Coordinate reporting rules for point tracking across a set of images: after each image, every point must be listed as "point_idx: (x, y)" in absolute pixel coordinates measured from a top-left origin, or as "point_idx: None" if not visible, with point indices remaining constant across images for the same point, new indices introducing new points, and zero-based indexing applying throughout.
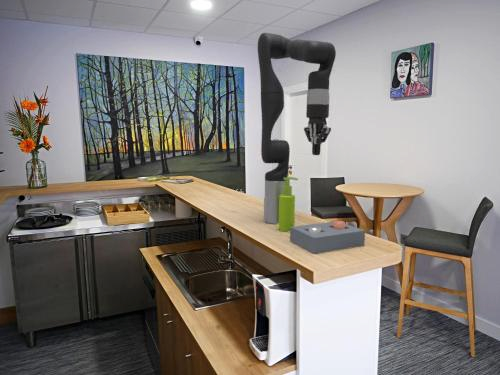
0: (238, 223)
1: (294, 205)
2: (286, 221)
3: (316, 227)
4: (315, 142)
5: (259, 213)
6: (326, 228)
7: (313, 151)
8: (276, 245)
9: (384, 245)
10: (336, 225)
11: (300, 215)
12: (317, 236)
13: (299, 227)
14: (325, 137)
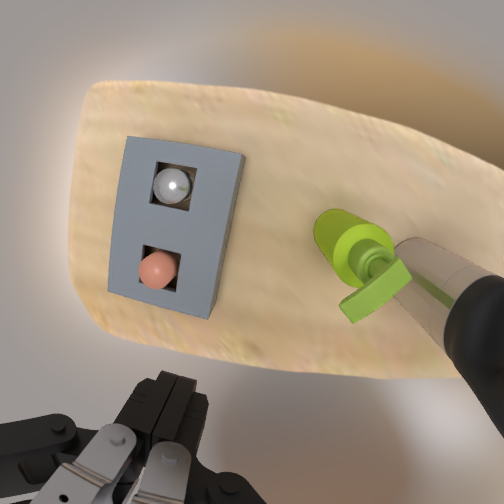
0: (456, 173)
1: (329, 262)
2: (325, 219)
3: (169, 193)
4: (111, 434)
5: None
6: (167, 229)
7: (172, 388)
8: (241, 106)
9: (106, 310)
10: (151, 254)
11: (401, 365)
12: (130, 151)
13: (220, 172)
14: (26, 463)
